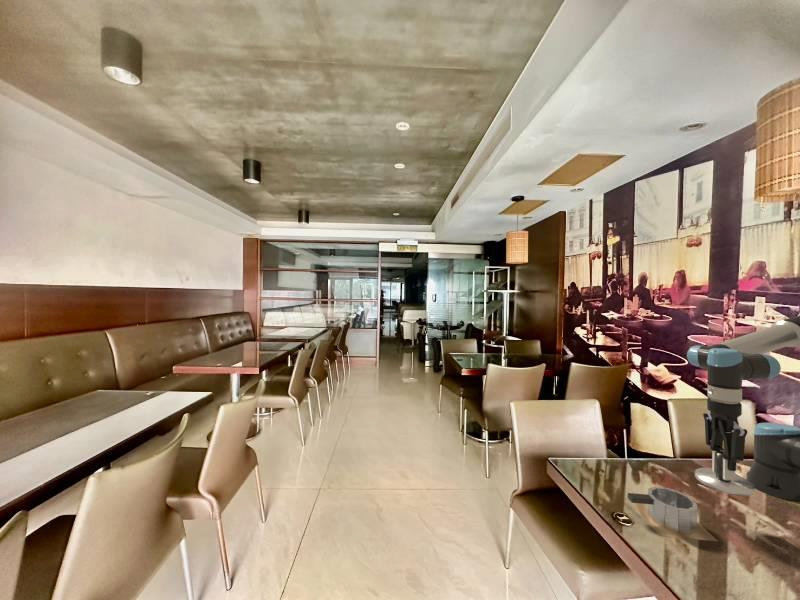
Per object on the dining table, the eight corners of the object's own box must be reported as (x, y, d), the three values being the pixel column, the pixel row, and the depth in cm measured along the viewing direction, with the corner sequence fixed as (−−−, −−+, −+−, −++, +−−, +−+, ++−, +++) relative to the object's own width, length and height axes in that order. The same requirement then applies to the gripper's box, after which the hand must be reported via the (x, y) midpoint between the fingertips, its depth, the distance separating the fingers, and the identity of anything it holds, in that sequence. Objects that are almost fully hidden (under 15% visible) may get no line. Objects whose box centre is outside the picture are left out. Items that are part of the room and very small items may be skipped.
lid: (729, 472, 107) (730, 445, 106) (768, 497, 94) (768, 466, 93) (684, 470, 109) (684, 443, 108) (716, 494, 96) (716, 463, 95)
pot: (679, 509, 107) (679, 488, 106) (706, 536, 95) (707, 512, 95) (620, 504, 109) (620, 483, 109) (639, 529, 98) (640, 506, 98)
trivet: (681, 508, 108) (681, 506, 108) (718, 543, 93) (718, 541, 93) (631, 504, 110) (631, 502, 110) (659, 537, 95) (659, 535, 95)
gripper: (690, 391, 109) (690, 461, 110) (732, 409, 93) (732, 491, 93) (716, 391, 108) (716, 462, 109) (763, 410, 92) (762, 493, 92)
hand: (723, 475), depth 101 cm, fingers closed on lid, 3 cm apart
